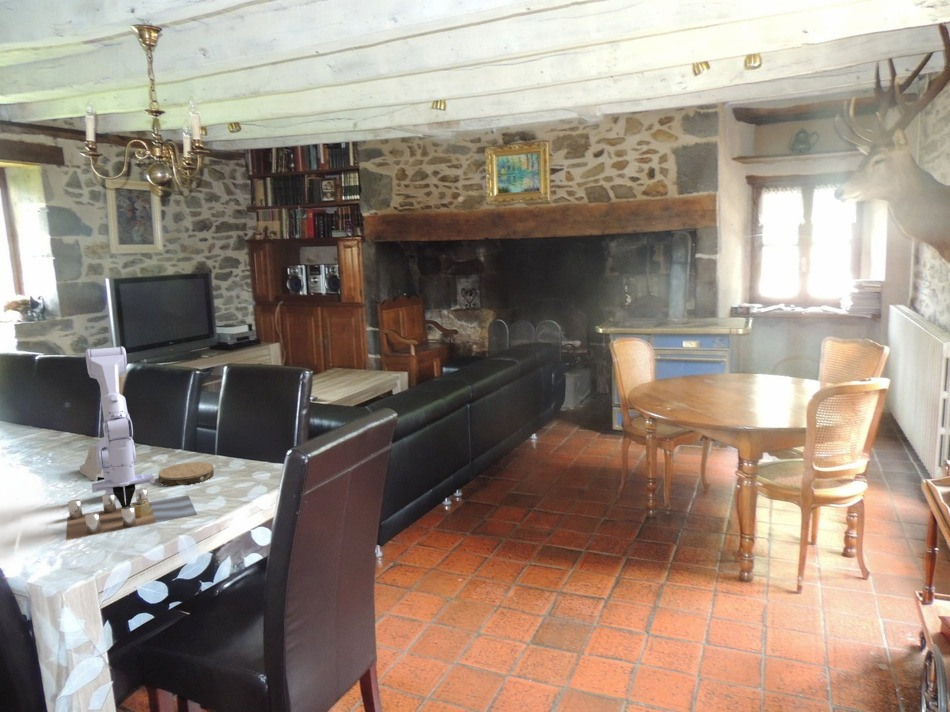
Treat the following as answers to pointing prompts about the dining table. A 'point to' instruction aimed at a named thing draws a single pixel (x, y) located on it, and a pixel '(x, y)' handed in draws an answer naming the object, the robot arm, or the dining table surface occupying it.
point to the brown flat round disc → (186, 474)
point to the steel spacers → (106, 511)
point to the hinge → (91, 465)
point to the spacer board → (113, 521)
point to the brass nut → (141, 508)
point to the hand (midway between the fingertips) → (126, 513)
